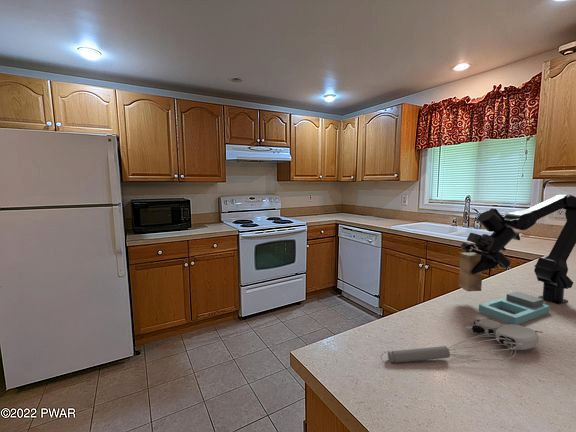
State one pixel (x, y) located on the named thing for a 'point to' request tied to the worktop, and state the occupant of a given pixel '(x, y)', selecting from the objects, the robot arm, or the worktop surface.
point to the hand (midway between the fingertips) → (466, 270)
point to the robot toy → (507, 333)
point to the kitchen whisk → (436, 352)
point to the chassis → (515, 308)
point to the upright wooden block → (469, 272)
